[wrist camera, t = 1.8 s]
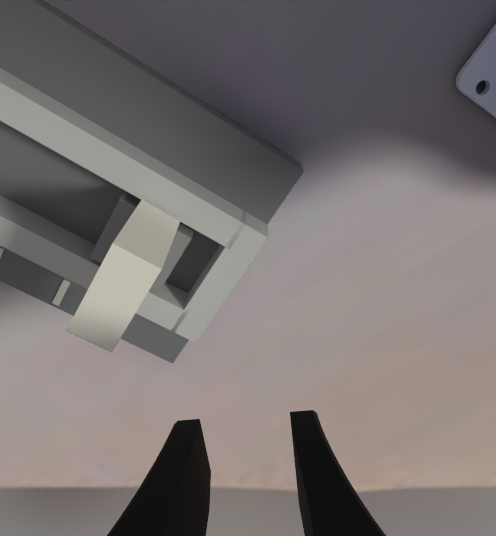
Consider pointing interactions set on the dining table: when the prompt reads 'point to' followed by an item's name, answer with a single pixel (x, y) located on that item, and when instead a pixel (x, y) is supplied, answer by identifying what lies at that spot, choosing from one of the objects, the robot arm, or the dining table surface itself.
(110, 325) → the fader
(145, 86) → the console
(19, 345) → the dining table surface
